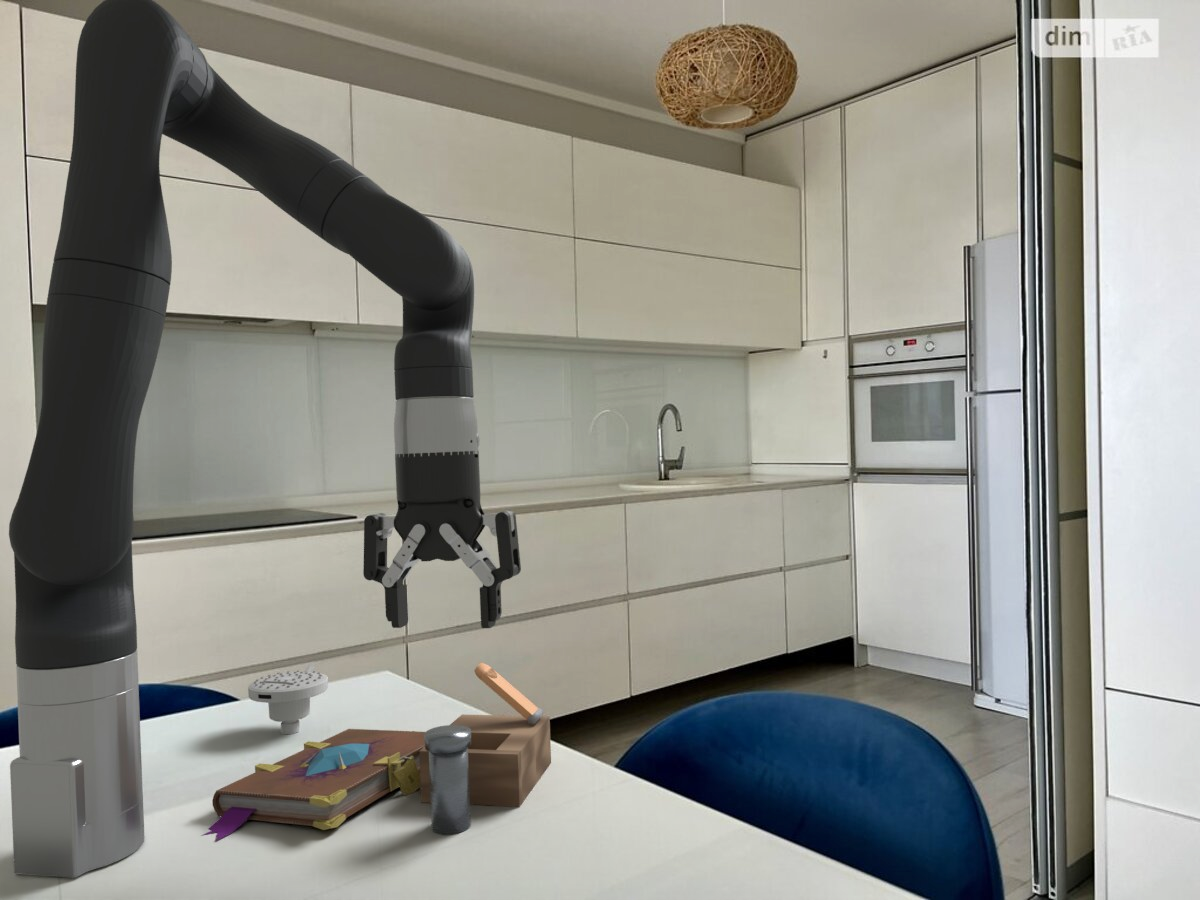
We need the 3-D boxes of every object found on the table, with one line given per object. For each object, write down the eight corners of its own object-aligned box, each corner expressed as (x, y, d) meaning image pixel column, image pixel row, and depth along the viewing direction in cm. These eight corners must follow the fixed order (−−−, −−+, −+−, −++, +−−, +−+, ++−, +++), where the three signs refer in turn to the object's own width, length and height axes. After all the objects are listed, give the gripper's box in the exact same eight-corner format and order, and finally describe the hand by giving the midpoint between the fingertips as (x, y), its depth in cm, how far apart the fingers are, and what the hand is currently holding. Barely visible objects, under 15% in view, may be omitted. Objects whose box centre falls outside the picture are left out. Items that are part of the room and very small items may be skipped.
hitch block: (519, 806, 86) (517, 754, 86) (421, 802, 88) (419, 751, 88) (551, 762, 98) (549, 716, 98) (463, 759, 100) (461, 714, 100)
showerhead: (345, 664, 116) (297, 684, 106) (347, 720, 116) (299, 746, 106) (282, 661, 119) (230, 681, 109) (284, 716, 119) (233, 741, 109)
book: (172, 847, 83) (168, 792, 83) (347, 758, 105) (344, 715, 106) (313, 864, 76) (309, 805, 76) (467, 765, 99) (463, 719, 99)
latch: (532, 727, 95) (538, 719, 95) (470, 673, 96) (475, 665, 96) (539, 718, 97) (545, 711, 97) (478, 666, 99) (484, 659, 99)
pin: (465, 837, 80) (461, 740, 80) (420, 835, 80) (416, 739, 80) (480, 817, 84) (477, 725, 84) (438, 815, 85) (434, 724, 85)
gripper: (345, 452, 80) (352, 635, 80) (499, 446, 77) (507, 635, 77) (381, 451, 87) (388, 618, 87) (523, 445, 85) (530, 618, 85)
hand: (444, 626), depth 82 cm, fingers open, 8 cm apart
